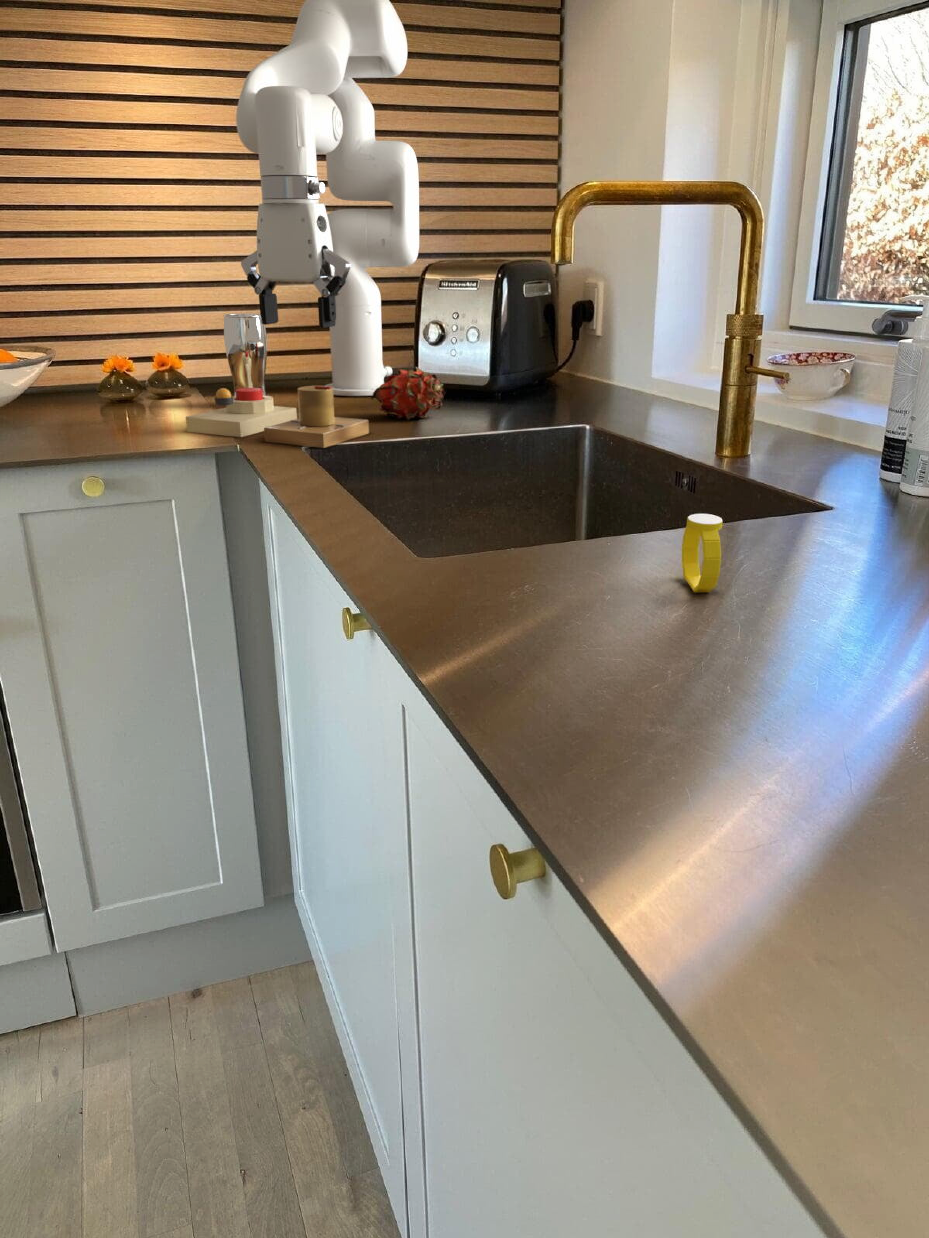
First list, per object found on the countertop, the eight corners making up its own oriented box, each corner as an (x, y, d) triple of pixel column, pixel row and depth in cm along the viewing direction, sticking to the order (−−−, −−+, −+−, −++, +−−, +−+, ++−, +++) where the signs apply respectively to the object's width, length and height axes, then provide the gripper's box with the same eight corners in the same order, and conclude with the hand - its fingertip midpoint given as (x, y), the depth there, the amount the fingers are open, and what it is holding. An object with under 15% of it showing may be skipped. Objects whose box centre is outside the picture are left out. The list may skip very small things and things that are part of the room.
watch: (670, 575, 81) (677, 508, 78) (702, 574, 81) (709, 507, 79) (691, 600, 75) (698, 528, 73) (725, 599, 75) (733, 527, 73)
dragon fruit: (451, 428, 152) (378, 439, 152) (444, 390, 156) (373, 402, 156) (447, 390, 145) (370, 402, 144) (439, 351, 149) (365, 363, 149)
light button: (247, 398, 147) (246, 387, 146) (268, 400, 145) (267, 388, 145) (231, 402, 144) (230, 390, 143) (252, 404, 142) (251, 392, 141)
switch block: (246, 417, 152) (244, 392, 150) (297, 422, 148) (295, 396, 146) (187, 431, 140) (184, 404, 139) (240, 437, 136) (238, 409, 135)
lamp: (223, 402, 141) (221, 386, 140) (236, 403, 140) (235, 387, 139) (211, 404, 139) (210, 388, 138) (225, 406, 138) (224, 390, 137)
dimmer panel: (312, 427, 143) (312, 413, 143) (369, 433, 139) (368, 418, 139) (264, 441, 133) (263, 426, 133) (323, 448, 129) (323, 432, 129)
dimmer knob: (293, 425, 134) (290, 387, 132) (311, 419, 139) (309, 382, 137) (323, 427, 133) (321, 389, 131) (341, 421, 137) (339, 384, 135)
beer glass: (276, 403, 165) (270, 313, 159) (264, 409, 158) (257, 316, 153) (237, 402, 165) (230, 313, 160) (224, 409, 159) (216, 316, 153)
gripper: (359, 192, 126) (364, 325, 132) (254, 194, 133) (264, 320, 139) (329, 190, 120) (336, 330, 126) (220, 192, 126) (232, 325, 133)
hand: (298, 325), depth 133 cm, fingers open, 9 cm apart
